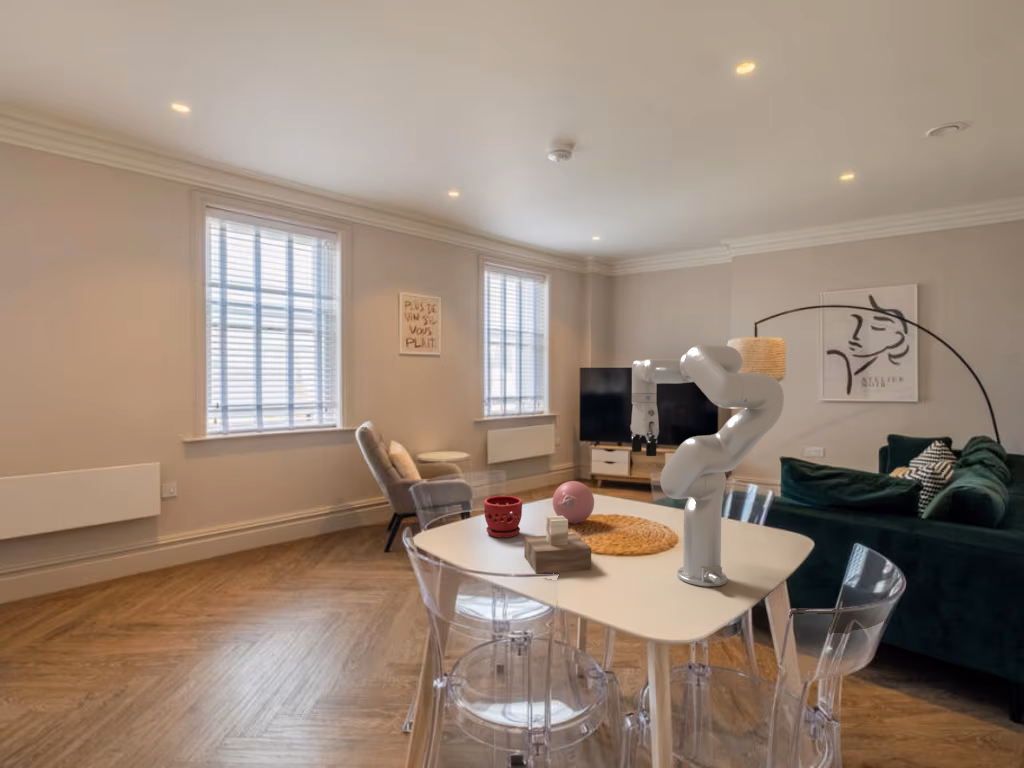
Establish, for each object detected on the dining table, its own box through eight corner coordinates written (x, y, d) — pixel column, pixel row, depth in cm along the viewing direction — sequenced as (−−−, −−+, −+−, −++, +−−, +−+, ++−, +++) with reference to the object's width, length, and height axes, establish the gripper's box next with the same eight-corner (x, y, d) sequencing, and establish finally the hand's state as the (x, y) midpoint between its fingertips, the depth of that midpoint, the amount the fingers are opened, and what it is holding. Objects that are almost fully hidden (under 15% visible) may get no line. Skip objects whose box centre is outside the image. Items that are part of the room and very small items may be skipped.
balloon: (540, 527, 192) (540, 485, 192) (561, 515, 209) (562, 476, 209) (580, 534, 185) (581, 489, 184) (599, 520, 202) (599, 480, 202)
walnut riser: (591, 569, 150) (591, 548, 150) (535, 573, 147) (536, 551, 147) (575, 553, 164) (575, 533, 164) (524, 556, 161) (524, 536, 160)
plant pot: (478, 531, 187) (478, 497, 187) (512, 527, 192) (512, 494, 192) (492, 541, 175) (492, 505, 175) (528, 537, 180) (528, 501, 180)
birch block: (567, 544, 153) (568, 520, 153) (551, 545, 152) (551, 520, 152) (562, 539, 158) (562, 515, 158) (546, 540, 157) (546, 516, 157)
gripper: (669, 400, 160) (668, 457, 160) (642, 398, 177) (641, 449, 177) (646, 400, 158) (645, 458, 159) (621, 398, 175) (620, 450, 175)
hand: (643, 453), depth 168 cm, fingers open, 9 cm apart
